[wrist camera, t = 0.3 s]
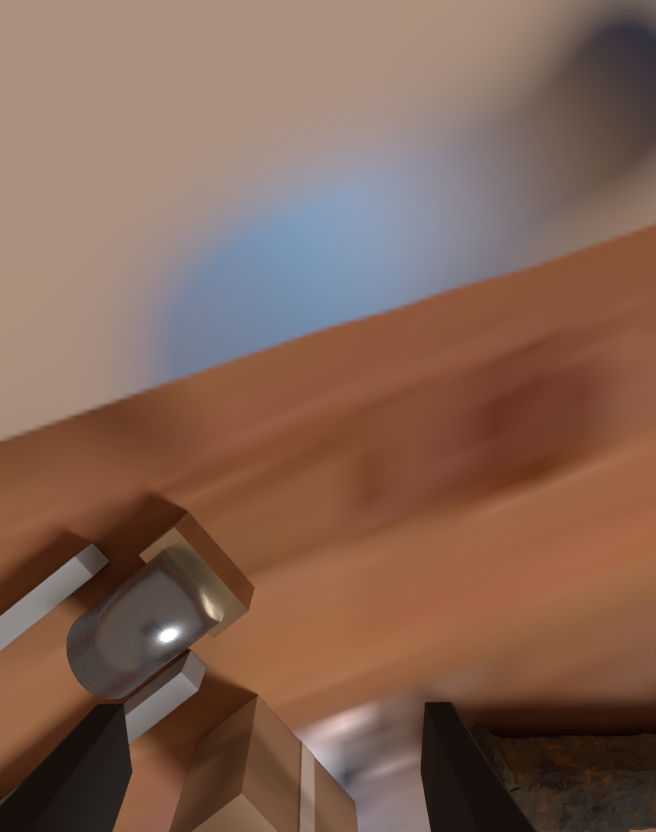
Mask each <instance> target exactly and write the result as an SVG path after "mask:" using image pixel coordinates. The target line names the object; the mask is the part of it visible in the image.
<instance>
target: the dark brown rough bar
mask: <svg viewBox="0 0 656 832" xmlns="http://www.w3.org/2000/svg"><path fill="white" fill-rule="evenodd" d="M473 738H474V740H475V741H476V743H477V744H478V746H479V748H480V749H481V751H482V752H483V754H484V755H485V757H486V758H487V760H488V762H489V763H490V765H491V766H492V768H493V769H494V771H495V772H496V774H497V775H498V777H499V778H500V780H501V781H502V783H503V784H504V785H505V787H506V788H507V790H508V791H509V793H510V794H511V796H512V797H513V798H514V800H515V801H516V803H517V804H518V806H519V807H520V809H521V810H522V811H523V813H524V814H525V816H526V817H527V818H528V820H529V821H530V823H531V824H532V825H533V827H534V828H535V829H536V831H537V832H629V831H630V830H646V829H650V828H656V734H648V733H642V734H638V735H630V736H591V735H579V736H573V735H562V736H555V737H544V736H540V737H525V738H500V737H497V736H495V735H493V734H491V733H490V732H489V731H488V730H487V729H486V728H485V727H484V726H481V725H479V724H477V725H475V726H474V737H473Z"/></svg>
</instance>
